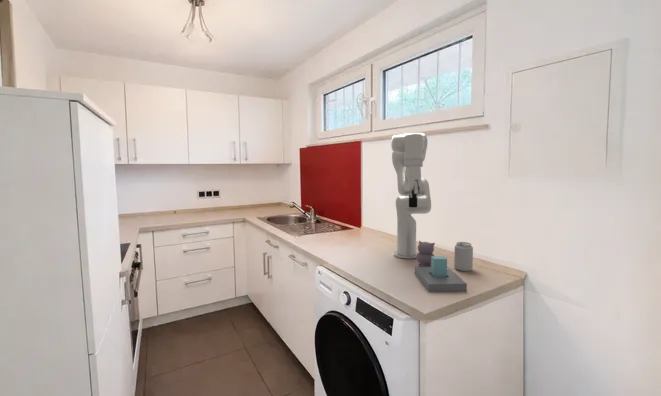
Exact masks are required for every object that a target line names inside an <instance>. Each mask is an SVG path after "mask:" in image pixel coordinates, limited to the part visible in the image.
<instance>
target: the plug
mask: <svg viewBox="0 0 661 396" xmlns="http://www.w3.org/2000/svg"><path fill="white" fill-rule="evenodd" d="M447 267H448V259H447V258H446V257H445V256H444V255H434V256H431V276H432V277H447Z"/></svg>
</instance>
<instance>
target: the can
mask: <svg viewBox="0 0 661 396" xmlns="http://www.w3.org/2000/svg"><path fill="white" fill-rule="evenodd" d="M473 257H474V247H473V246H472V243H470V242H467V241H458V242H456V244H455V245H454V262H453V267H454V269H456V270H457V271H459V272H471V271H472V270H473V264H474V263H473V262H474V261H473V259H474V258H473Z"/></svg>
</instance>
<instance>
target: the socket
mask: <svg viewBox="0 0 661 396" xmlns="http://www.w3.org/2000/svg"><path fill="white" fill-rule="evenodd" d="M414 276H416V278H417V279H418V280H419V281H420V283H421V284H422V285H423V287H424V288H425V290H427V292H428V293H435V292H438V293H439V292H440V293H444V292H446V293H447V292H448V293H450V292H452V293H455V292H456V293H457V292H458V293H459V292H467V290H468V289H467V286H468V283H467V282H466V281H465V280H463V278H462V277H460V275H457V273H455V272H454V271H453V270H452V269H451V268H449V266H447V277H432V276H431V267H419V266H414Z"/></svg>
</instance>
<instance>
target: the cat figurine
mask: <svg viewBox="0 0 661 396" xmlns="http://www.w3.org/2000/svg"><path fill="white" fill-rule="evenodd" d="M435 245H436V242H431V243H430V242H428V241H420V240H419V241H418V245H417V251H418V252H417V253H418V254H417V255H416V258H415V259H416V261H417V263H418V267H431V256H435V254H434V250H435V247H434V246H435Z"/></svg>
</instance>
